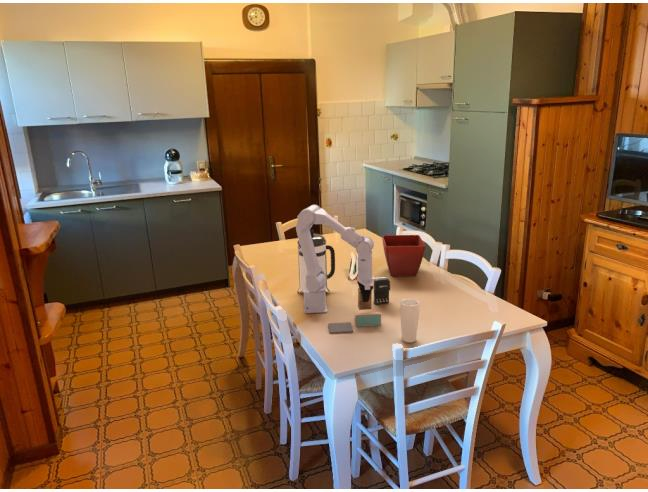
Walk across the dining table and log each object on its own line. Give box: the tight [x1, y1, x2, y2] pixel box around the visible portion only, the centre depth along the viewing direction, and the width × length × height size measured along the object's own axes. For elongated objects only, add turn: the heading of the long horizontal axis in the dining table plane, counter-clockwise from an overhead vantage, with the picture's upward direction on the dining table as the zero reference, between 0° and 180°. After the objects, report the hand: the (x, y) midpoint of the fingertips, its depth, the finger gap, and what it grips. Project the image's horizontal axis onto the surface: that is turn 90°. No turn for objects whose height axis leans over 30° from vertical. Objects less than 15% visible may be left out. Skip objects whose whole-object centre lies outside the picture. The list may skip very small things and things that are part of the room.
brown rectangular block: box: [357, 287, 373, 311], centre depth 201 cm, size 5×4×8 cm
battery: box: [372, 276, 391, 305], centre depth 213 cm, size 7×4×11 cm, turn 101°
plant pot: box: [381, 234, 426, 277], centre depth 248 cm, size 19×19×17 cm
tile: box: [354, 311, 382, 327], centre depth 194 cm, size 10×2×5 cm, turn 94°
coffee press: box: [296, 229, 336, 295], centre depth 224 cm, size 17×16×30 cm
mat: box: [328, 321, 354, 334], centre depth 192 cm, size 9×8×1 cm
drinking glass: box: [399, 298, 420, 344], centre depth 180 cm, size 7×7×15 cm
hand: (364, 299), depth 201 cm, fingers closed on brown rectangular block, 3 cm apart
